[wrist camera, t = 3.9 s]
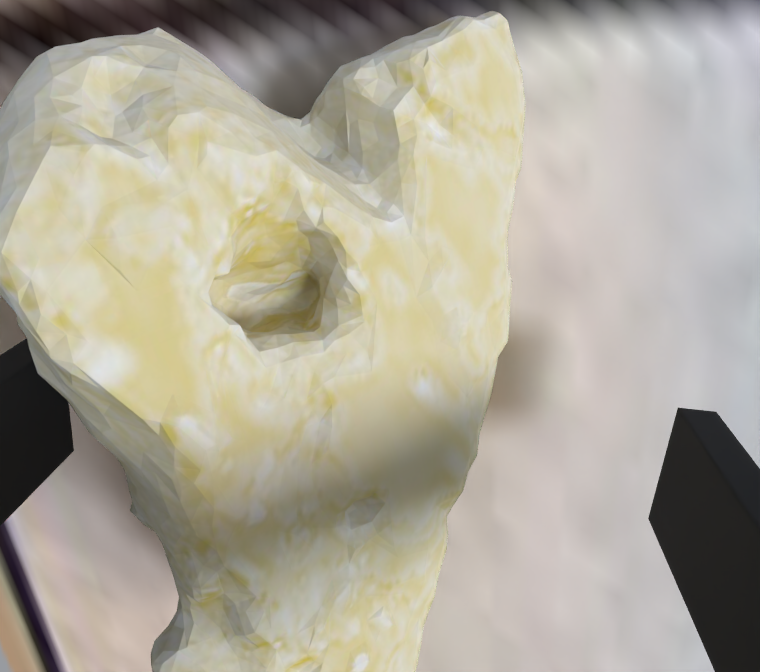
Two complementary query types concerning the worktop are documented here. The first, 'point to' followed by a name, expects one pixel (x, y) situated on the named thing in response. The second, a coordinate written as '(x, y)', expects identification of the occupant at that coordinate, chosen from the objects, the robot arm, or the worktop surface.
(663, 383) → the worktop surface
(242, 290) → the cheese
